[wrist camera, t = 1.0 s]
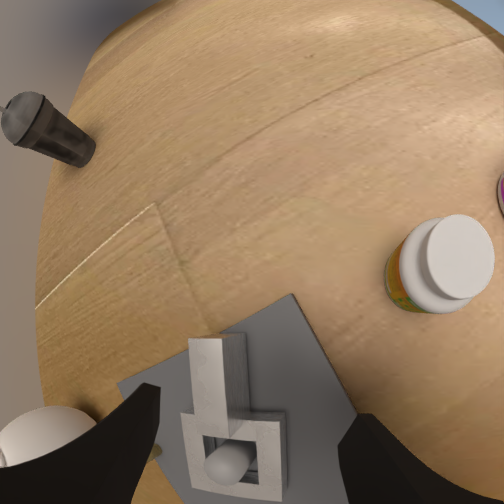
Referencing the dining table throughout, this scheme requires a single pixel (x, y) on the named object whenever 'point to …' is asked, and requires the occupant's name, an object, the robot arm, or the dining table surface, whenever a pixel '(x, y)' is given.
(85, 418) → the white squeeze bulb
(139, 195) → the dining table surface
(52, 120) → the beverage cup
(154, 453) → the dowel
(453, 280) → the supplement bottle
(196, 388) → the square nut with handle
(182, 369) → the base
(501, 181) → the supplement bottle
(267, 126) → the dining table surface
